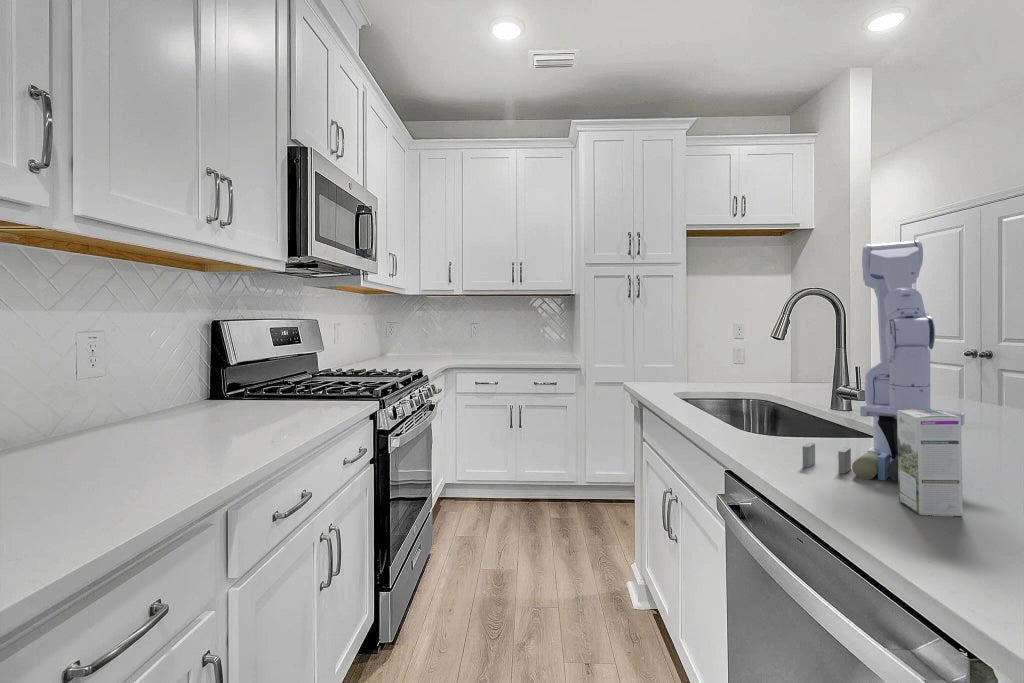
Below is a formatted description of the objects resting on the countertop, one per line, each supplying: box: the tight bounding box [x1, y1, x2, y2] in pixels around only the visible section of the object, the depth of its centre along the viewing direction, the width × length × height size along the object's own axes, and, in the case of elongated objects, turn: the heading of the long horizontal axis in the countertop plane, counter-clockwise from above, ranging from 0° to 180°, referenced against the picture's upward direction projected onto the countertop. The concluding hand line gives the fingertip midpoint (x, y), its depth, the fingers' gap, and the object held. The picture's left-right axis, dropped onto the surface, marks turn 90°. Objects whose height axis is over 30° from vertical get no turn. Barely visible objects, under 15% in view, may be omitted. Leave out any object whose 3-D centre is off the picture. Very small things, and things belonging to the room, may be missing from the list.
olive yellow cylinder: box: [851, 452, 880, 480], centre depth 92 cm, size 6×4×4 cm, turn 133°
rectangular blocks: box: [802, 442, 891, 481], centre depth 92 cm, size 4×19×4 cm, turn 43°
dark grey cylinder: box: [888, 455, 898, 482], centre depth 89 cm, size 10×4×4 cm, turn 133°
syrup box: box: [897, 409, 964, 517], centre depth 75 cm, size 6×6×14 cm
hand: (910, 460), depth 91 cm, fingers closed on dark grey cylinder, 4 cm apart
